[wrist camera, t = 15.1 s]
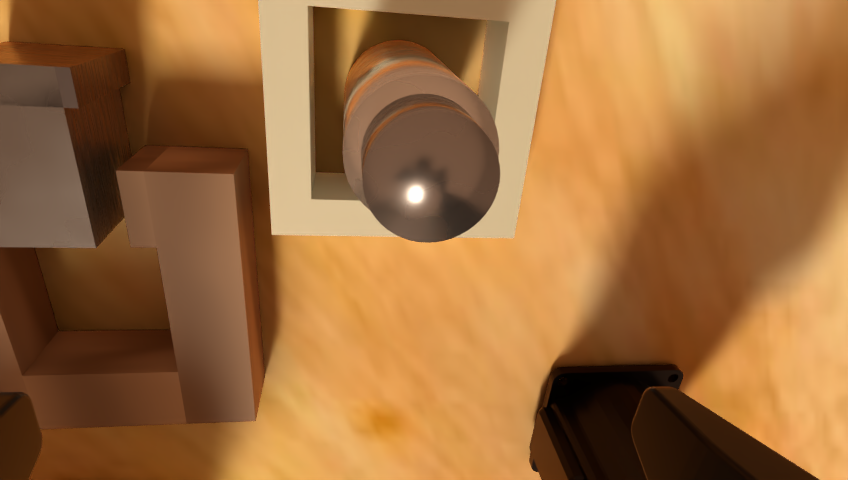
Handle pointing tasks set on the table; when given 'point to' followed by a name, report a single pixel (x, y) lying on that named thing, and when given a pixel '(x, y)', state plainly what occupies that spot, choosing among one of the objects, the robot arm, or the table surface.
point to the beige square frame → (295, 110)
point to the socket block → (185, 299)
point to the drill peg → (418, 143)
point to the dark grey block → (60, 144)
